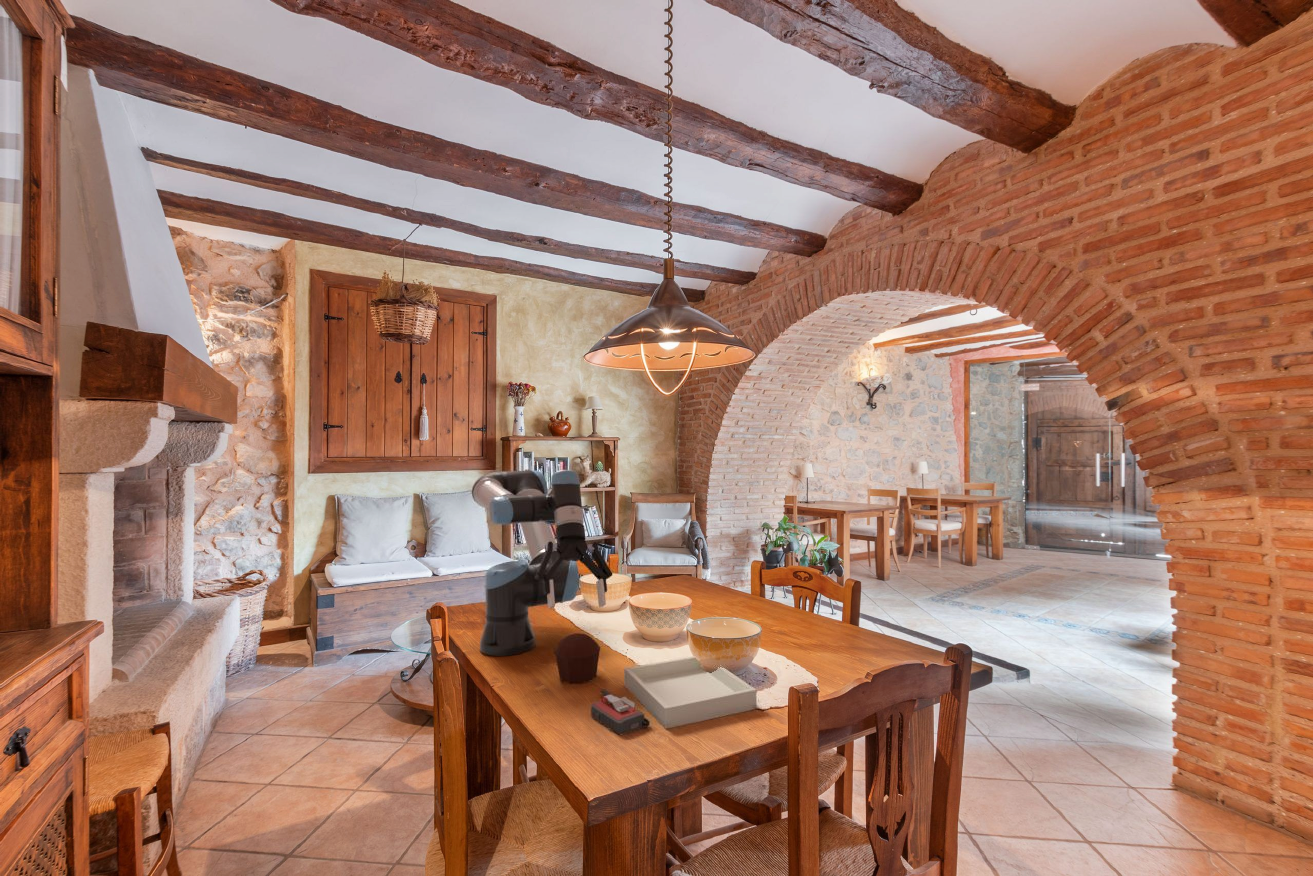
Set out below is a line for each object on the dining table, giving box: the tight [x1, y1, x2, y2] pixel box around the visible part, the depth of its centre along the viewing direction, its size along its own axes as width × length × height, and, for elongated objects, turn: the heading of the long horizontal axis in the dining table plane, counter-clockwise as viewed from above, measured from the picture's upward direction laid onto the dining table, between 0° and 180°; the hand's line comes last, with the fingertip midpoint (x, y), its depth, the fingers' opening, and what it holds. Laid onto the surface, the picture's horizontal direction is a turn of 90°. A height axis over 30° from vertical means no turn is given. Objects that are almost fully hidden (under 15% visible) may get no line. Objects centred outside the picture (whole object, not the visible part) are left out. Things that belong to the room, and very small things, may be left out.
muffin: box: [553, 632, 601, 685], centre depth 148 cm, size 12×11×10 cm
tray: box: [623, 655, 758, 729], centre depth 135 cm, size 24×21×4 cm
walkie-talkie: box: [590, 688, 650, 735], centre depth 127 cm, size 9×4×20 cm
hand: (577, 606), depth 150 cm, fingers open, 13 cm apart
